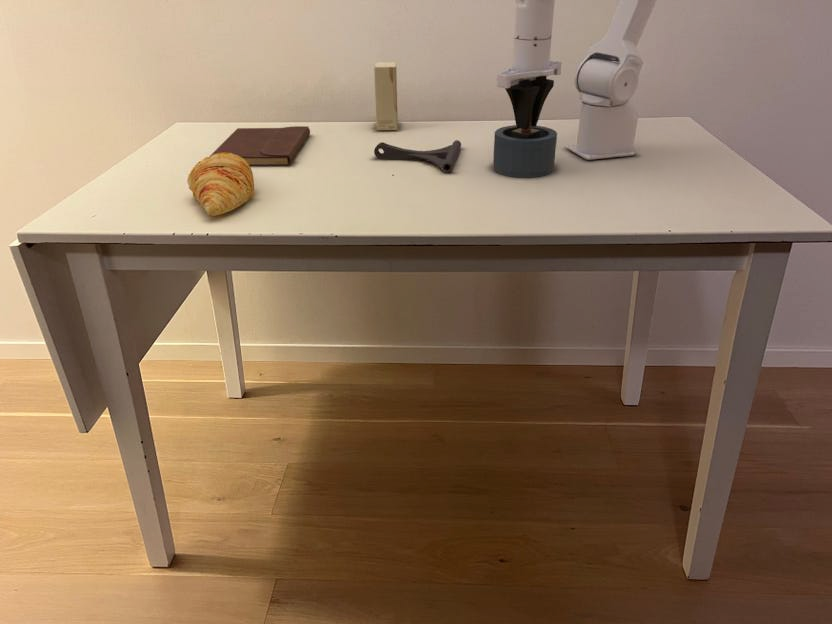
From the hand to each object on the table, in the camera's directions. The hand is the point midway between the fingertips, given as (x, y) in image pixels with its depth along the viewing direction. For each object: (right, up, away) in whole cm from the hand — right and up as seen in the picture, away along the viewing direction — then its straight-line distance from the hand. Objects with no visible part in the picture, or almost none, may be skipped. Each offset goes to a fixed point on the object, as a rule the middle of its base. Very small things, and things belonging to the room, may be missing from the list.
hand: (526, 126), depth 116 cm
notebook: (-47, +1, +16) cm, 50 cm away
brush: (0, -2, +1) cm, 3 cm away
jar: (0, -6, +4) cm, 7 cm away
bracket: (-18, -3, +10) cm, 21 cm away
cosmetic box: (-24, +9, +29) cm, 38 cm away
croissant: (-49, -13, -6) cm, 51 cm away
